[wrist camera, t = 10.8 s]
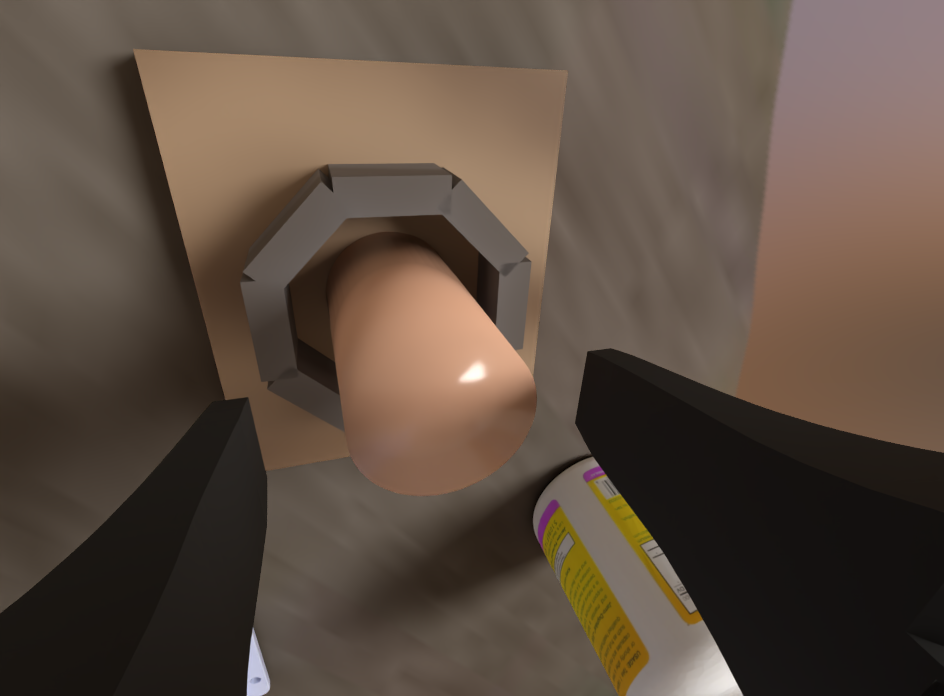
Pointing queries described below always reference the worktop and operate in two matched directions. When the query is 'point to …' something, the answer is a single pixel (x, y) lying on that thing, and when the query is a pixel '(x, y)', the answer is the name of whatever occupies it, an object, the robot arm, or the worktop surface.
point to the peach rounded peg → (421, 370)
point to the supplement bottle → (626, 591)
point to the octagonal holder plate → (345, 205)
